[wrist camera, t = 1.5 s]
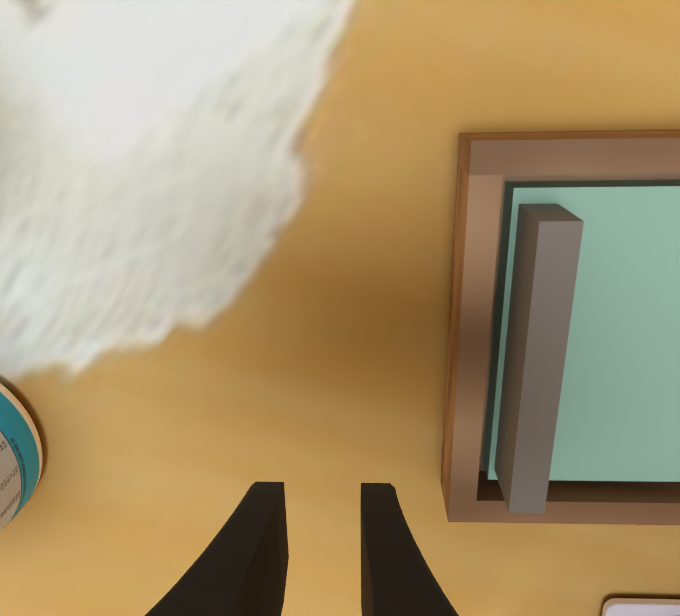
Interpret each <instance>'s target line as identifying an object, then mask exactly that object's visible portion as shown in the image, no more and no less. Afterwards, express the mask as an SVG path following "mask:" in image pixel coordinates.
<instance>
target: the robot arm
mask: <svg viewBox="0 0 680 616" xmlns="http://www.w3.org/2000/svg"><path fill="white" fill-rule="evenodd" d="M288 558H289V555H288V539H287V524H286V508H285V493H284V482H255V483H254V484H253V485H252V486H251V487H250V488H249V490H248V491H247V493H246V495H245V496H244V498H243V499H242V501H241V502H240V504H239V505H238V506H237V508H236V509H235V511H234V512H233V514H232V515H231V516H230V518H229V519H228V521H227V522H226V523H225V525H224V526H223V527H222V529H221V530H220V531H219V533H218V534H217V535H216V536H215V538H214V539H213V540H212V542H211V543H210V544H209V545H208V547H207V548H206V549H205V551H204V552H203V553H202V554H201V555H200V557H199V558H198V559H197V560H196V561H195V562H194V564H193V565H192V566H191V567H190V568H189V569H188V570H187V572H186V573H185V574H184V575H183V576H182V577H181V579H180V580H179V581H178V582H177V583H176V584H175V585H174V586H173V587H172V589H171V590H170V591H169V592H168V593H167V594H166V595H165V596H164V597H163V598H162V599H161V600H160V601H159V602H158V603H157V604H156V605H155V606H154V607H153V608H152V609H151V610H150V611H149V612H148V613H147V614H146V615H145V616H281V612H282V608H283V602H284V594H285V585H286V576H287V567H288ZM361 607H362V616H459V615H458V614H457V612H456V611H455V610H454V608H453V607H452V605H451V604H450V602H449V600H448V599H447V597H446V596H445V594H444V593H443V591H442V589H441V588H440V586H439V584H438V583H437V581H436V579H435V578H434V576H433V574H432V573H431V571H430V569H429V567H428V565H427V564H426V562H425V560H424V558H423V556H422V554H421V552H420V550H419V548H418V546H417V544H416V542H415V540H414V538H413V536H412V534H411V532H410V530H409V527H408V525H407V523H406V520H405V518H404V516H403V513H402V510H401V508H400V505H399V502H398V498H397V495H396V491H395V488H394V487H393V486H392V485H391V484H390V483H361ZM602 616H680V599H638V598H612V599H610V600H608V601H607V602H606V603H605V604H604V606H603V611H602Z"/></svg>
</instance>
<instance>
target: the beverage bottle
mask: <svg viewBox="0 0 680 616" xmlns="http://www.w3.org/2000/svg"><path fill="white" fill-rule="evenodd" d="M41 470H42V447H41V442H40V438H39V435H38V432H37V429H36V427H35V425H34V423H33V421H32V419H31V417H30V416H29V414H28V412H27V411H26V410H25V408H24V407H23V405H22V404H21V403H20V402H19V401H18V399H17V398H16V397H15V396H14V395H13V394H12V393H11V392H10V391H9V390H8V389H6V388H5V387H4V386H3V385H2V384H0V531H1V530H2V529H3V528H4V527H5V526H6V525H7V524H8V523H9V522H10V521H11V520H12V519H13V518H14V517H15V516H16V515H17V513H18V512H19V511H20V510H21V509H22V507H23V506H24V505H25V504H26V502H27V501H28V500H29V498H30V497H31V496H32V494H33V492H34V491H35V489H36V487H37V484H38V482H39V479H40V475H41Z"/></svg>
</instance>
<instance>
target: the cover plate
mask: <svg viewBox="0 0 680 616" xmlns="http://www.w3.org/2000/svg"><path fill="white" fill-rule="evenodd" d="M482 462H483V465H484V468H485V472H486V475H487V478H488V480H498V482H499V485H500V488H501V491H502V494H503V497H504V500H505V503H506V507H507V510H508V513H545V506H546V498H547V491H548V484H549V480H566V481H653V482H680V180H592V181H505V193H504V205H503V217H502V228H501V240H500V252H499V264H498V276H497V288H496V300H495V312H494V324H493V336H492V348H491V360H490V372H489V384H488V396H487V408H486V420H485V432H484V444H483V456H482Z"/></svg>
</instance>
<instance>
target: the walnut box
mask: <svg viewBox="0 0 680 616" xmlns="http://www.w3.org/2000/svg"><path fill="white" fill-rule="evenodd" d="M592 180H680V130H642V131H575V132H508V133H459V151H458V169H457V188H456V207H455V225H454V244H453V263H452V281H451V300H450V318H449V337H448V356H447V374H446V393H445V412H444V430H443V449H442V467H441V485H442V491H443V496H444V502H445V507H446V513H447V518H448V522H500V523H568V524H636V525H680V482H653V481H566V480H549V484H548V491H547V498H546V506H545V513H508V510H507V507H506V503H505V500H504V497H503V494H502V491H501V488H500V485H499V482H498V480H488V478H487V475H486V472H485V468H484V465H483V462H482V456H483V444H484V432H485V420H486V408H487V396H488V384H489V372H490V360H491V348H492V336H493V324H494V312H495V300H496V288H497V276H498V264H499V252H500V240H501V228H502V217H503V205H504V193H505V181H592Z"/></svg>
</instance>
